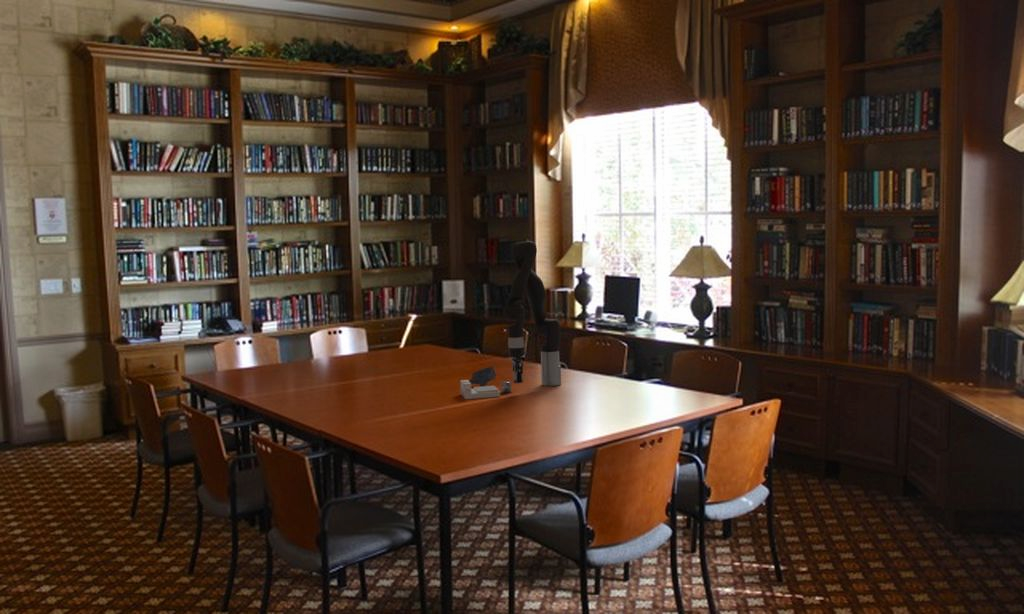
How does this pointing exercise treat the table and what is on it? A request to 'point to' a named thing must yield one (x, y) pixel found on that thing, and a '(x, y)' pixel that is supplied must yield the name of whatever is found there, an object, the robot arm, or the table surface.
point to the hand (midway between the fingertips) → (518, 381)
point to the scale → (478, 391)
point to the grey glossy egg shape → (516, 377)
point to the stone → (483, 376)
